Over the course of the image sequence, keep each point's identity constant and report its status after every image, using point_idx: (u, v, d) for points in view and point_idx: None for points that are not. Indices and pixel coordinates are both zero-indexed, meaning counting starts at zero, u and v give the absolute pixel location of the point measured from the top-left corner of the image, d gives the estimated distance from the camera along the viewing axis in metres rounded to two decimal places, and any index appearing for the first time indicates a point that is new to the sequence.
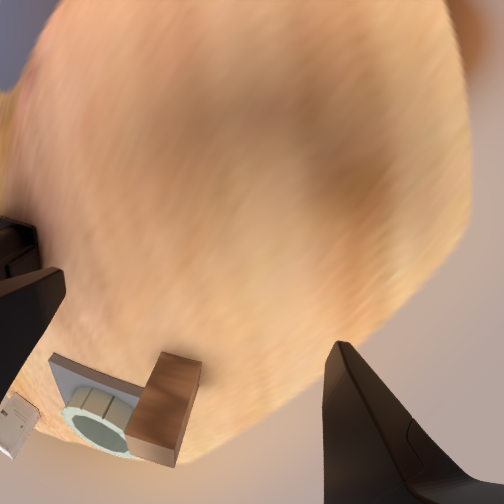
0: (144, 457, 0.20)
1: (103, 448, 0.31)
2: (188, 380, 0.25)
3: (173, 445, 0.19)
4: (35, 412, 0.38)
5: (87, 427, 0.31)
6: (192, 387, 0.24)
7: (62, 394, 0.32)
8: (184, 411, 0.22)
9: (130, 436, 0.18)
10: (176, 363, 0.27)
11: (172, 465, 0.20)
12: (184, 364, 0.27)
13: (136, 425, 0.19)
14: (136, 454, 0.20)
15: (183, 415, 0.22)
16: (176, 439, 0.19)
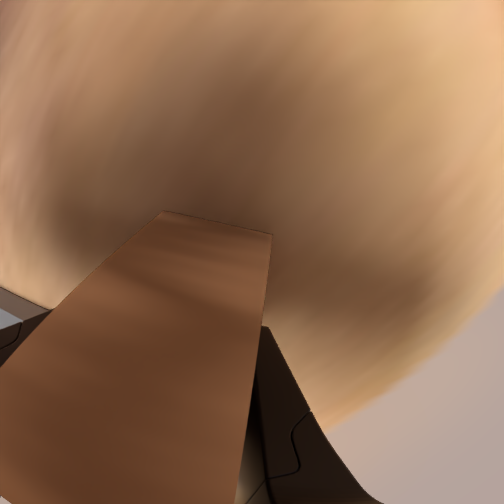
0: None
1: None
2: (245, 266, 0.08)
3: None
4: None
5: None
6: (263, 282, 0.08)
7: None
8: (249, 361, 0.05)
9: None
10: (204, 230, 0.10)
11: None
12: (227, 234, 0.10)
13: (3, 415, 0.03)
14: None
15: (247, 379, 0.05)
16: None
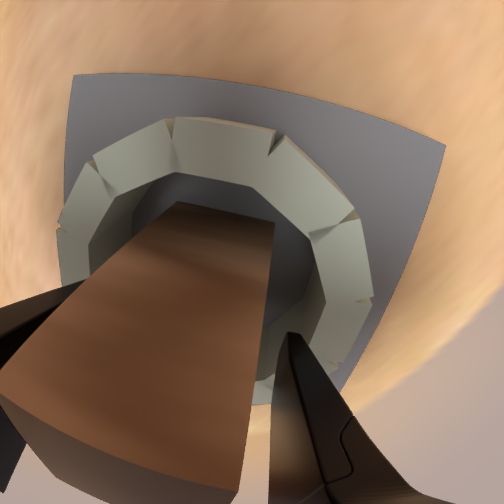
0: (99, 496, 0.04)
1: None
2: (252, 245, 0.10)
3: (234, 465, 0.03)
4: None
5: None
6: (267, 258, 0.09)
7: None
8: (258, 314, 0.06)
9: (10, 403, 0.03)
10: (214, 217, 0.11)
11: None
12: (235, 220, 0.11)
13: (50, 355, 0.04)
14: (72, 482, 0.04)
15: (257, 327, 0.06)
16: (242, 429, 0.04)
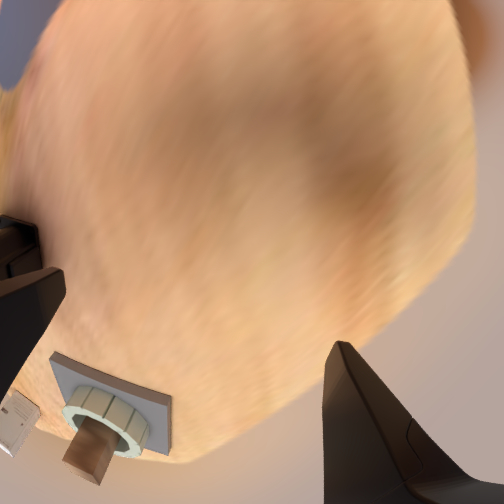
0: (79, 475, 0.24)
1: None
2: None
3: (92, 472, 0.22)
4: (35, 410, 0.39)
5: None
6: (111, 431, 0.28)
7: (63, 392, 0.32)
8: (103, 449, 0.26)
9: (65, 462, 0.22)
10: None
11: (97, 483, 0.24)
12: None
13: (70, 455, 0.23)
14: (74, 473, 0.24)
15: (102, 452, 0.25)
16: (95, 468, 0.23)
